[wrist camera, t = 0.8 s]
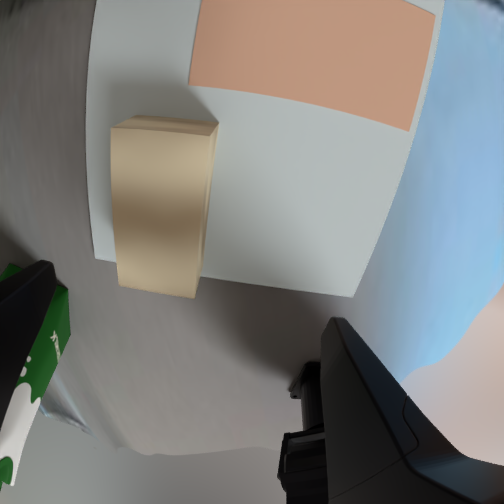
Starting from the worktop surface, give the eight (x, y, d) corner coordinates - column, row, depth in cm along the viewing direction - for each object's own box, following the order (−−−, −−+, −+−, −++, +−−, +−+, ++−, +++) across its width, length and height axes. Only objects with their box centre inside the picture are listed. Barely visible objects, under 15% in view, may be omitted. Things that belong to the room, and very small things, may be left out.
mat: (351, 293, 24) (352, 298, 23) (97, 255, 23) (94, 259, 22) (443, -18, 11) (447, -19, 10) (117, -71, 9) (113, -73, 9)
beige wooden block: (203, 265, 22) (194, 298, 19) (135, 254, 22) (119, 285, 19) (219, 122, 17) (209, 136, 14) (135, 114, 16) (110, 127, 13)
